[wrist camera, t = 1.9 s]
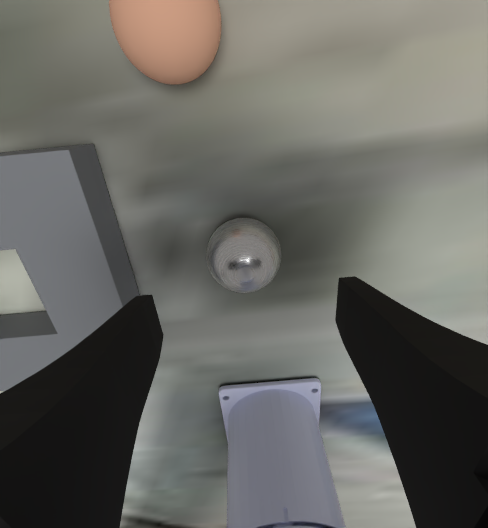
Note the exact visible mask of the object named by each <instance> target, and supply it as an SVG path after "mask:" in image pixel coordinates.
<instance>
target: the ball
mask: <svg viewBox="0 0 488 528" xmlns="http://www.w3.org/2000/svg"><path fill="white" fill-rule="evenodd" d="M109 7H110V17H111V22H112V26H113V30H114V33H115V35H116V38H117V40H118V42H119V44H120V46H121V48H122V50H123V52H124V53H125V55H126V56H127V58H128V59H129V60H130V61H131V63H132V64H133V65H134V66H135V67H136V68H137V69H138V70H140V71H141V72H142V73H143V74H145V75H146V76H148V77H150V78H151V79H153V80H155V81H158V82H161V83H164V84H171V85H175V84H184V83H188V82H191V81H193V80H194V79H196V78H198V77H199V76H200V75H202V74H203V73H204V72H205V71H206V70H207V69H208V67H209V66H210V65H211V63H212V61H213V59H214V58H215V55H216V53H217V50H218V46H219V42H220V37H221V14H220V7H219V4H218V0H109Z"/></svg>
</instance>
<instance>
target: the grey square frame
mask: <svg viewBox="0 0 488 528" xmlns="http://www.w3.org/2000/svg"><path fill="white" fill-rule="evenodd" d="M9 249H16V251H17V253H18V255H19V257H20V259H21V261H22V263H23V265H24V267H25V269H26V271H27V273H28V275H29V277H30V279H31V281H32V283H33V285H34V287H35V289H36V291H37V293H38V295H39V297H40V299H41V301H42V303H43V305H44V307H45V309H46V311H41V312H30V313H18V314H7V315H0V391H5V390H8V389H10V388H11V387H13V386H15V385H16V384H18V383H20V382H21V381H23V380H25V379H26V378H28V377H30V376H32V375H33V374H35V373H37V372H38V371H40V370H41V369H43V368H45V367H46V366H48V365H49V364H51V363H52V362H53V361H55V360H56V359H58V358H59V357H61V356H62V355H64V354H65V353H67V352H68V351H69V350H71V349H72V348H73V347H75V346H76V345H77V344H79V343H80V342H81V341H82V340H84V339H85V338H86V337H87V336H89V335H90V334H91V333H93V332H94V331H95V330H96V329H98V328H99V327H100V326H101V325H102V324H103V323H105V322H106V321H107V320H108V319H109V318H110V317H112V316H113V315H114V314H115V313H116V312H117V311H119V310H120V309H121V308H122V307H123V306H124V305H126V304H127V303H128V302H129V301H130V300H132V299H133V298H134V297H136V296H140V295H139V292H138V288H137V285H136V282H135V278H134V275H133V272H132V269H131V265H130V262H129V259H128V255H127V252H126V249H125V246H124V242H123V239H122V236H121V233H120V229H119V226H118V223H117V219H116V216H115V213H114V210H113V206H112V203H111V200H110V196H109V193H108V190H107V187H106V183H105V180H104V177H103V173H102V170H101V167H100V164H99V160H98V157H97V154H96V150H95V147H94V144H85V145H75V146H64V147H54V148H43V149H33V150H23V151H12V152H2V153H0V250H9Z"/></svg>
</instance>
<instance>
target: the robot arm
mask: <svg viewBox="0 0 488 528" xmlns="http://www.w3.org/2000/svg"><path fill="white" fill-rule="evenodd" d="M336 323H337V327H338V330H339V333H340V336H341V338H342V341H343V344H344V346H345V348H346V350H347V352H348V354H349V356H350V358H351V360H352V362H353V364H354V366H355V368H356V370H357V372H358V374H359V376H360V378H361V380H362V382H363V384H364V386H365V388H366V390H367V392H368V394H369V396H370V398H371V400H372V403H373V405H374V407H375V410H376V412H377V415H378V417H379V420H380V423H381V425H382V428H383V431H384V433H385V436H386V439H387V441H388V444H389V447H390V450H391V453H392V455H393V458H394V461H395V464H396V467H397V469H398V472H399V475H400V478H401V481H402V484H403V487H404V490H405V493H406V496H407V499H408V502H409V505H410V509H411V512H412V515H413V518H414V521H415V525H416V528H488V345H486V344H484V343H481V342H478V341H476V340H473V339H471V338H468V337H466V336H463V335H461V334H459V333H457V332H454V331H452V330H450V329H448V328H445V327H443V326H441V325H439V324H437V323H435V322H433V321H431V320H429V319H427V318H425V317H423V316H421V315H419V314H417V313H416V312H414V311H412V310H410V309H408V308H406V307H405V306H403V305H401V304H399V303H398V302H396V301H394V300H393V299H391V298H389V297H388V296H386V295H385V294H383V293H381V292H380V291H378V290H377V289H375V288H373V287H372V286H370V285H369V284H367V283H365V282H364V281H362V280H360V279H358V278H357V277H345V278H339V283H338V295H337V308H336ZM162 341H163V332H162V329H161V325H160V322H159V318H158V314H157V311H156V307H155V304H154V300H153V297H152V295H142V296H136V297H134V298H133V299H132V300H130V301H129V302H128V303H127V304H126V305H124V306H123V307H122V308H121V309H120V310H119V311H117V312H116V313H115V314H114V315H113V316H112V317H110V318H109V319H108V320H107V321H106V322H105V323H103V324H102V325H101V326H100V327H99V328H98V329H96V330H95V331H94V332H93V333H91V334H90V335H89V336H87V337H86V338H85V339H84V340H82V341H81V342H80V343H79V344H77V345H76V346H75V347H73V348H72V349H71V350H69V351H68V352H67V353H65V354H64V355H62V356H61V357H59V358H58V359H56V360H55V361H53V362H52V363H51V364H49V365H48V366H46V367H45V368H43V369H41V370H40V371H38V372H37V373H35V374H33V375H32V376H30V377H28V378H26V379H25V380H23V381H21V382H20V383H18V384H16V385H15V386H13V387H11V388H10V389H8V390H6V391H4V392H3V393H1V394H0V528H119V527H120V521H121V515H122V509H123V503H124V497H125V491H126V485H127V480H128V475H129V469H130V464H131V459H132V454H133V449H134V444H135V440H136V435H137V430H138V426H139V422H140V419H141V415H142V412H143V409H144V406H145V403H146V399H147V396H148V393H149V390H150V387H151V384H152V381H153V378H154V375H155V371H156V368H157V365H158V362H159V358H160V353H161V347H162ZM320 397H321V383H320V380H319V379H317V378H310V379H298V380H286V381H274V382H263V383H251V384H239V385H227V386H222V387H220V388H219V398H220V404H221V409H222V414H223V420H224V425H225V430H226V436H227V441H228V483H227V528H346V526H345V523H344V519H343V515H342V511H341V508H340V504H339V500H338V497H337V493H336V489H335V485H334V482H333V478H332V474H331V470H330V467H329V463H328V459H327V455H326V452H325V448H324V444H323V440H322V437H321V433H320V429H319V415H320Z"/></svg>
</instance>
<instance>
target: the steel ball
mask: <svg viewBox="0 0 488 528" xmlns="http://www.w3.org/2000/svg"><path fill="white" fill-rule="evenodd" d="M206 261H207V265H208V268H209V271H210V273H211V275H212V276H213V278H214V279H215V280H216V281H217V282H218V283H219V284H220V285H221V286H223V287H224V288H226V289H228V290H230V291H233V292H238V293H250V292H254V291H257V290H260V289H262V288H263V287H265V286H266V285H268V284H269V283H270V282H271V281H272V280H273V279H274V277H275V276H276V274H277V272H278V270H279V267H280V264H281V247H280V243H279V241H278V239H277V237H276V235H275V233H274V232H273V231H272V230H271V229H270V228H269V227H268V226H267V225H265V224H264V223H262V222H260V221H258V220H255V219H251V218H236V219H232V220H230V221H227V222H225V223H224V224H222V225H221V226H220V227H218V228H217V229H216V230H215V232H214V233H213V234H212V236H211V238H210V240H209V242H208V245H207V250H206Z"/></svg>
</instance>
